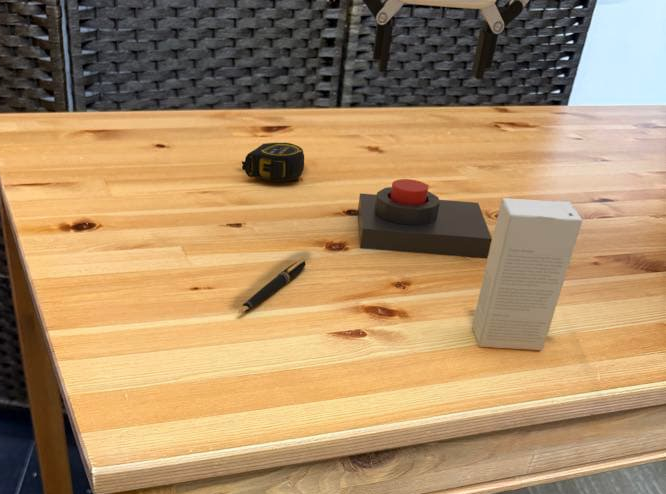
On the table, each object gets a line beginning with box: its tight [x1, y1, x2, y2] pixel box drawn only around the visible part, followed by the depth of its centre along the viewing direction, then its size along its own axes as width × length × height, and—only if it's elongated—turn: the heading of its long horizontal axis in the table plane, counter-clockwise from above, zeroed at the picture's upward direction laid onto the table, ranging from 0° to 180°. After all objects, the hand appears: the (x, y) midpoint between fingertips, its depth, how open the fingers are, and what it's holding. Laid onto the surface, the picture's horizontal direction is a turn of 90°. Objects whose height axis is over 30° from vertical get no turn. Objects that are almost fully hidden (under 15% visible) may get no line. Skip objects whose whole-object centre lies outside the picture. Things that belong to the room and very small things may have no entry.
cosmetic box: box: [471, 197, 583, 351], centre depth 71 cm, size 6×4×12 cm
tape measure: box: [241, 142, 305, 183], centre depth 103 cm, size 7×7×4 cm
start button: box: [390, 178, 429, 205], centre depth 90 cm, size 4×4×2 cm
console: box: [357, 186, 493, 259], centre depth 92 cm, size 14×11×4 cm
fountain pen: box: [237, 258, 306, 314], centre depth 80 cm, size 14×1×2 cm, turn 152°
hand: (429, 72), depth 82 cm, fingers open, 9 cm apart
